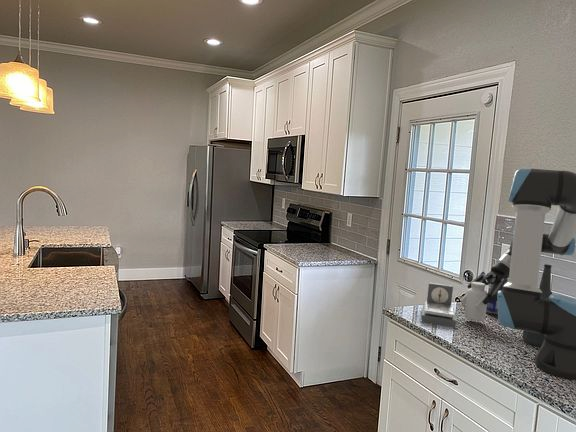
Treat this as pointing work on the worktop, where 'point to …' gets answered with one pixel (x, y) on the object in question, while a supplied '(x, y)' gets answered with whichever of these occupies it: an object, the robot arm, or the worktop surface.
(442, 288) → the scale
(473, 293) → the pill bottle
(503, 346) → the worktop surface
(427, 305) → the gray flat rectangular slab
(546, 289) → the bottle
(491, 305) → the pill bottle
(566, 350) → the robot arm
